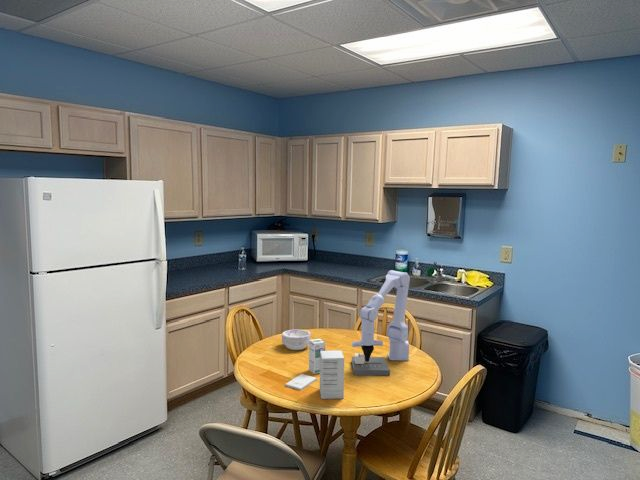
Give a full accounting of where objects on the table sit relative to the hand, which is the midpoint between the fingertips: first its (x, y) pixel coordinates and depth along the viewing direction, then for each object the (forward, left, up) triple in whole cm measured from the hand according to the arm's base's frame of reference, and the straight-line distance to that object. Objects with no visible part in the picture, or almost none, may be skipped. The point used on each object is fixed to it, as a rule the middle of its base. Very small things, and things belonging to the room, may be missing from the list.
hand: (366, 360), depth 208 cm
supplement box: (+17, +27, -4) cm, 32 cm away
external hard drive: (+30, +17, -4) cm, 35 cm away
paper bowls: (+34, -27, -4) cm, 44 cm away
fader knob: (+4, 0, -1) cm, 4 cm away
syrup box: (+23, +4, -4) cm, 24 cm away
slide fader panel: (-2, 0, -4) cm, 4 cm away
